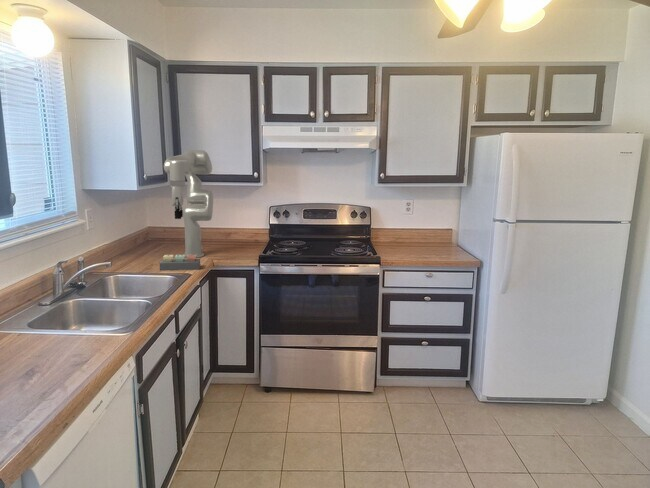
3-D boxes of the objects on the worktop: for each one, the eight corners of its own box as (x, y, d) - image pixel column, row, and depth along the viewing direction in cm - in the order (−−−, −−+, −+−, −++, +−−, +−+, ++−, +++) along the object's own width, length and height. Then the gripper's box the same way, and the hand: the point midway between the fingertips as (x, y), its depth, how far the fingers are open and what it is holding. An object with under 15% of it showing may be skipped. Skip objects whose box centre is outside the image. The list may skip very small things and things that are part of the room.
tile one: (163, 265, 226) (163, 256, 225) (164, 263, 231) (164, 254, 230) (172, 265, 227) (172, 256, 226) (174, 263, 232) (173, 254, 231)
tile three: (186, 265, 229) (186, 255, 228) (187, 263, 233) (187, 254, 233) (196, 265, 230) (195, 255, 229) (196, 263, 234) (196, 253, 234)
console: (159, 270, 224) (159, 263, 223) (162, 266, 233) (162, 259, 232) (199, 269, 229) (198, 262, 228) (200, 265, 237) (200, 258, 237)
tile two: (175, 265, 227) (174, 256, 227) (176, 263, 232) (175, 254, 231) (184, 265, 229) (184, 255, 228) (185, 263, 233) (185, 254, 232)
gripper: (172, 183, 230) (173, 216, 233) (167, 184, 214) (169, 220, 217) (186, 183, 232) (187, 216, 235) (183, 185, 215) (184, 220, 218)
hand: (178, 217), depth 226 cm, fingers open, 6 cm apart
